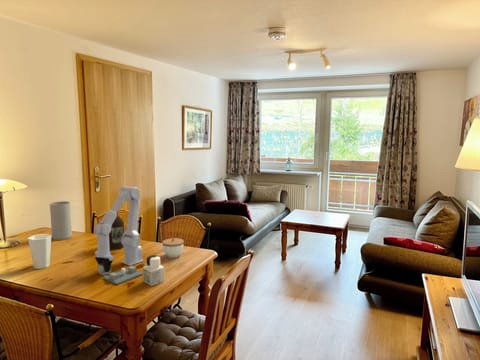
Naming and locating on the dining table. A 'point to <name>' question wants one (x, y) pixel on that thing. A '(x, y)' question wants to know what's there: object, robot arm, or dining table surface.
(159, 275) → the container
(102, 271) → the box
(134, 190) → the robot arm
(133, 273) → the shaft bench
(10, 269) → the dining table surface
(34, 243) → the cup
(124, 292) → the dining table surface
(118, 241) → the olive oil
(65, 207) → the cylinder vase
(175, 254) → the lidded bowl
